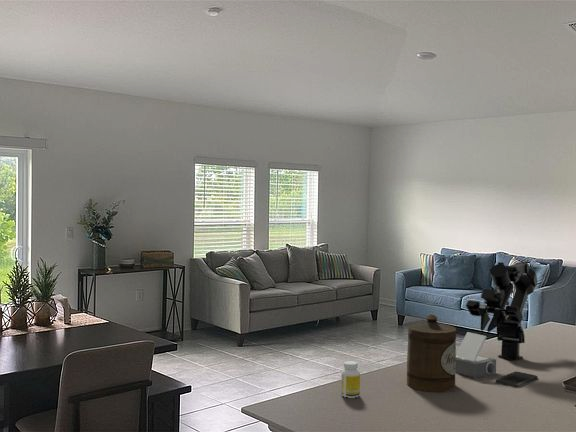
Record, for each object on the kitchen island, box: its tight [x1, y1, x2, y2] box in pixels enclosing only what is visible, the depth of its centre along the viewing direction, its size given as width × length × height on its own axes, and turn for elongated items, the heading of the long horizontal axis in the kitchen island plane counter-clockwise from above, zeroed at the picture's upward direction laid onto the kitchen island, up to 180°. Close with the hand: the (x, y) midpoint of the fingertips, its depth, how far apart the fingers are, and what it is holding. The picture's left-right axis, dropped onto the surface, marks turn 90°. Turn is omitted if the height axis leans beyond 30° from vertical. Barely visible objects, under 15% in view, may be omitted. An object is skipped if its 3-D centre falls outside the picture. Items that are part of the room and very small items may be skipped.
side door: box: [456, 331, 487, 363], centre depth 206 cm, size 10×8×1 cm
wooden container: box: [406, 314, 457, 393], centre depth 193 cm, size 15×15×22 cm
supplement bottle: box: [340, 360, 361, 399], centre depth 182 cm, size 5×5×10 cm
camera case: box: [455, 354, 497, 379], centre depth 207 cm, size 11×9×5 cm
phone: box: [495, 371, 539, 388], centre depth 199 cm, size 8×1×15 cm
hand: (484, 330), depth 210 cm, fingers open, 2 cm apart
